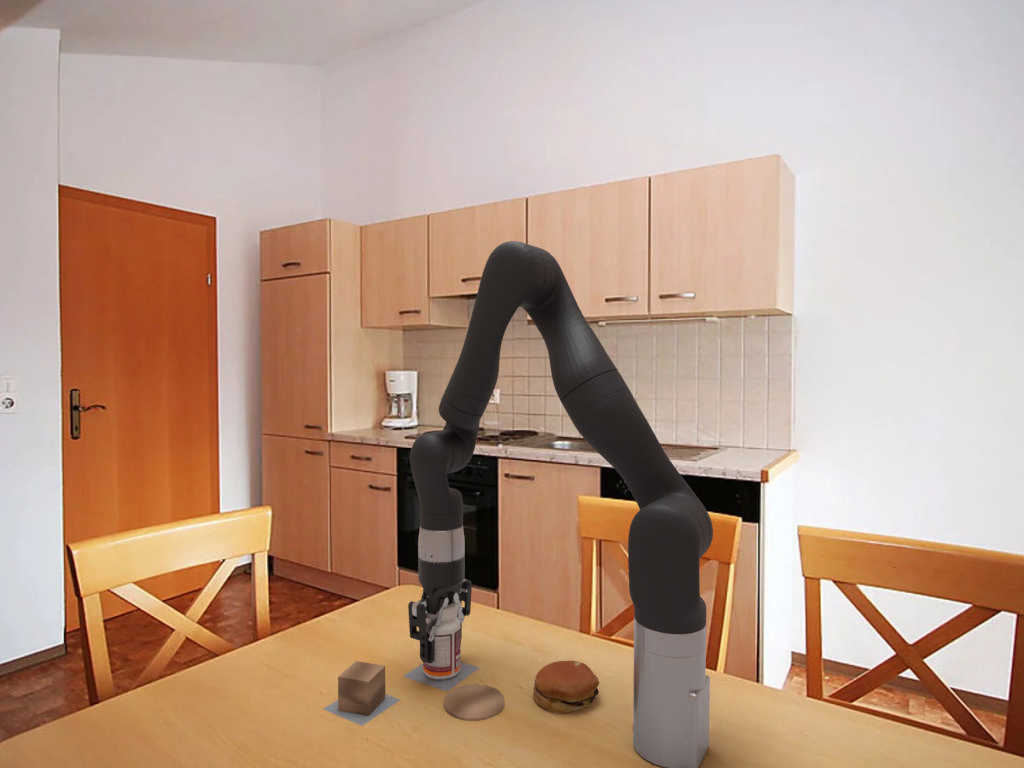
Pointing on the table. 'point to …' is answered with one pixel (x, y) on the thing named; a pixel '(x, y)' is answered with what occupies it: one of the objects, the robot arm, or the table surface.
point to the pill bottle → (445, 646)
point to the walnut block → (361, 688)
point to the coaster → (473, 702)
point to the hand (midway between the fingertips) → (441, 652)
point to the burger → (565, 686)
